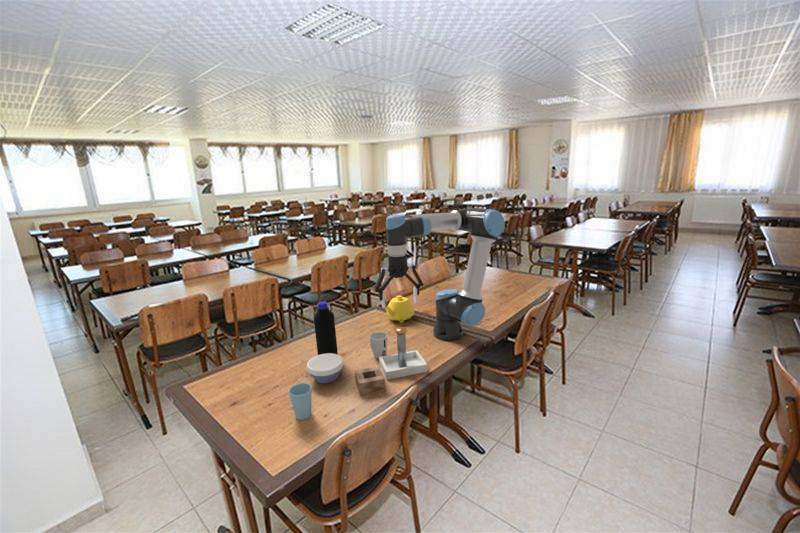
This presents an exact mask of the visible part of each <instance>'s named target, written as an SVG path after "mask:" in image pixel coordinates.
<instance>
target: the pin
mask: <svg viewBox="0 0 800 533" xmlns="http://www.w3.org/2000/svg"><path fill="white" fill-rule="evenodd" d="M407 332H408V330H407V327H404V326H399V327H396V328H395V329H394V333H395V334H396V346H397V347H396V348H397V353H398V367H399V368H402V367H407V359H406V352H407V341H406V333H407Z"/></svg>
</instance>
